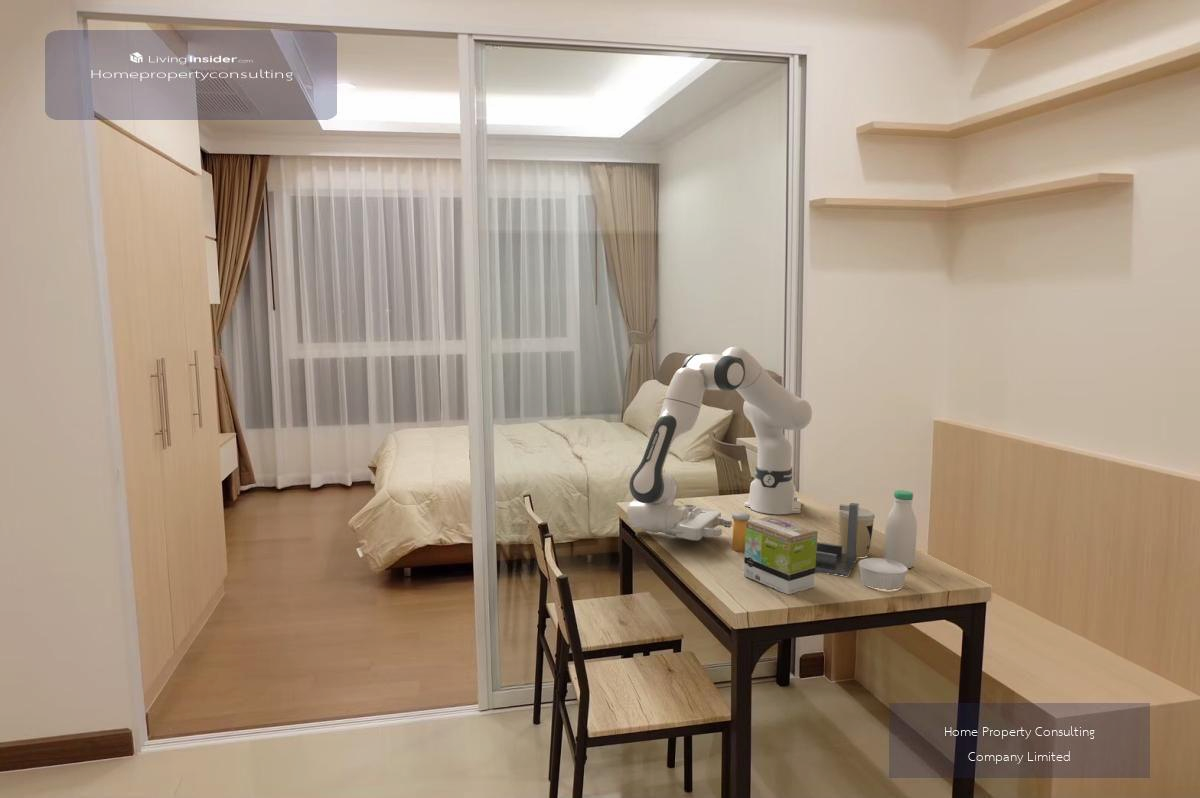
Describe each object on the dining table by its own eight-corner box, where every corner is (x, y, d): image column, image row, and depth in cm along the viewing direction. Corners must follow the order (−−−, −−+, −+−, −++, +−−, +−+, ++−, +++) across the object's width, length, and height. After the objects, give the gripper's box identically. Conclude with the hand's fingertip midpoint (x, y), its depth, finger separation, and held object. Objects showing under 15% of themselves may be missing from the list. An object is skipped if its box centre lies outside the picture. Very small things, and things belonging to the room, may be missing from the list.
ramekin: (915, 588, 189) (917, 568, 189) (886, 597, 183) (888, 576, 183) (877, 574, 199) (878, 554, 198) (848, 582, 193) (849, 562, 192)
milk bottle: (916, 571, 201) (922, 496, 199) (885, 568, 203) (890, 494, 200) (911, 561, 209) (916, 489, 206) (881, 559, 210) (885, 487, 208)
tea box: (742, 577, 195) (744, 520, 193) (769, 569, 200) (772, 514, 199) (788, 596, 183) (791, 535, 181) (815, 587, 188) (819, 529, 186)
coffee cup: (874, 560, 209) (877, 517, 208) (838, 557, 211) (841, 514, 210) (869, 549, 219) (871, 508, 217) (834, 547, 220) (837, 506, 219)
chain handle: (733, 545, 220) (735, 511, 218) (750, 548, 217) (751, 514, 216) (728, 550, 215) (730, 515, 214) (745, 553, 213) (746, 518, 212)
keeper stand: (815, 553, 214) (819, 492, 212) (858, 560, 209) (862, 498, 207) (803, 569, 201) (807, 505, 199) (849, 577, 196) (853, 511, 194)
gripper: (667, 519, 214) (714, 527, 208) (692, 502, 232) (737, 509, 226) (666, 541, 215) (713, 549, 209) (692, 523, 233) (736, 530, 227)
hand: (726, 528), depth 218 cm, fingers open, 8 cm apart
